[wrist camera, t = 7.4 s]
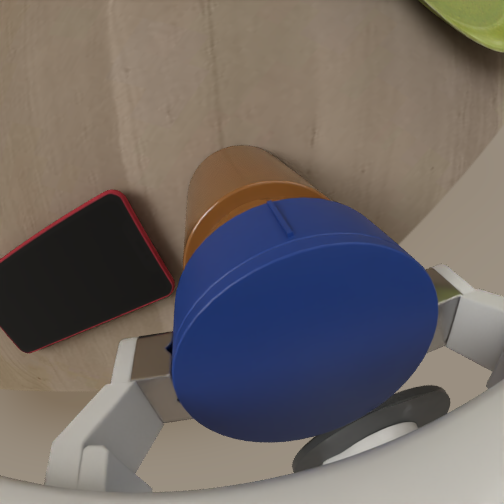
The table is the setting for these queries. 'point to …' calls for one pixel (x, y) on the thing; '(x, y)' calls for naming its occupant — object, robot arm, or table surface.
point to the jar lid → (297, 321)
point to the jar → (236, 190)
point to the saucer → (473, 19)
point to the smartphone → (80, 274)
